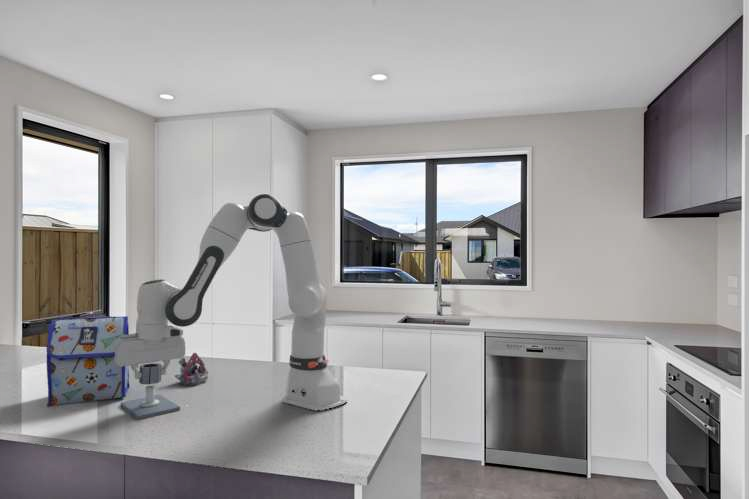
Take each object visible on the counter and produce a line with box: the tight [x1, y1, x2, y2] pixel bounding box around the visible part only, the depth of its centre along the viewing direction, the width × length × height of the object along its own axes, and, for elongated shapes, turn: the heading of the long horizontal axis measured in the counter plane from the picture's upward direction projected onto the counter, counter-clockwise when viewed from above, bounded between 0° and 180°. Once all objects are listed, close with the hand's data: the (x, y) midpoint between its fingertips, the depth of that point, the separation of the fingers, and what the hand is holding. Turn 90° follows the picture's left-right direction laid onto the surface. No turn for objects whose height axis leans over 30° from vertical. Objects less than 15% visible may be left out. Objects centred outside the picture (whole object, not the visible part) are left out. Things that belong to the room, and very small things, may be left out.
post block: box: [120, 385, 181, 420], centre depth 142 cm, size 16×12×6 cm
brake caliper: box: [174, 352, 209, 386], centre depth 171 cm, size 11×11×12 cm
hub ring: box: [138, 362, 163, 385], centre depth 142 cm, size 6×6×5 cm
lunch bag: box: [46, 315, 130, 407], centre depth 150 cm, size 23×17×27 cm
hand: (150, 376), depth 142 cm, fingers closed on hub ring, 6 cm apart
